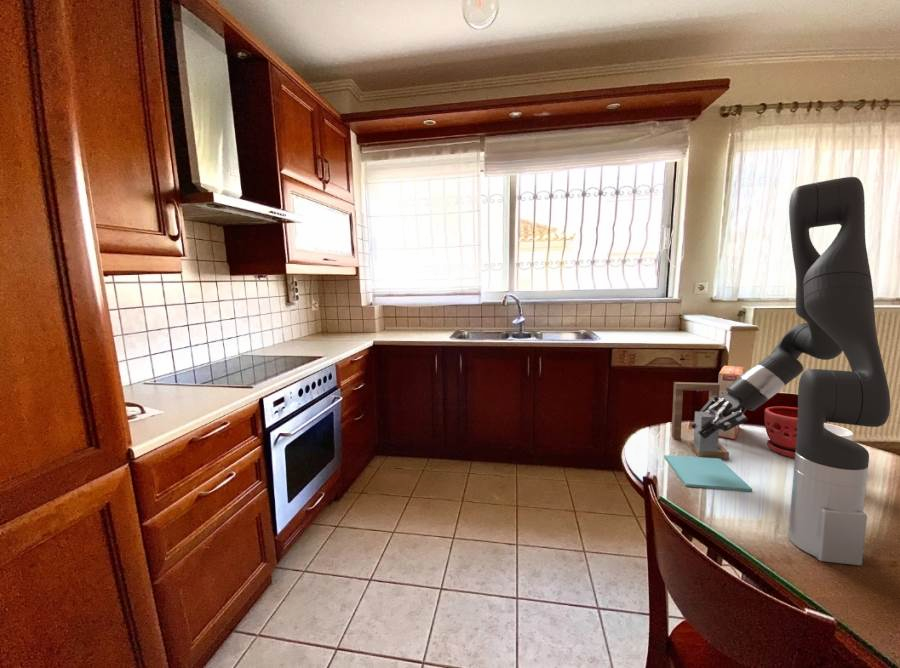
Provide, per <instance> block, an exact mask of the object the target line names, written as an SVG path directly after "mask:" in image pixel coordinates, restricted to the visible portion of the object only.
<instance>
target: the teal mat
mask: <svg viewBox="0 0 900 668" xmlns="http://www.w3.org/2000/svg"><path fill="white" fill-rule="evenodd" d="M663 458H664V459H665V460H666V461H667V463H668V464H669V466H670V467H671V469H672V470H673V471H674V473H675V475H677V476H678V478H679V479H680V480H681V482H682V483H683V485H684V486H685V487H694V488H704V489H705V488H707V489H719V490H730V491H731V490H732V491H733V490H734V491H743V492H744V491H745V492H753V488H752V487H751V486H750V485H749V484H748V483H747V482H746V481H744V480H743V479H742V478H741V476H739V475H738V474H737V472H735V471H734V470H733V469H732V468H731V467H729V465H728V464H726V463H725V462H724V461H723V459H719V458H703V457H698V456H685V455H684V456H682V455H672V454H671V455H670V454H669V455H668V454H664V456H663Z"/></svg>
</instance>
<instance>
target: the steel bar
mask: <svg viewBox="0 0 900 668" xmlns="http://www.w3.org/2000/svg"><path fill="white" fill-rule="evenodd" d="M715 417H716V415H715V414H714V413H712V412H700V411H694V422H695V425H694V428H693V440H694V443H693V444H694V445H695V446H696V447H697V448H698V449H699V450H700V451H713V452H718V443H719V437H720V436H719V430H716V431H715V432H714V433H712V434H711V435H710V436H708V437H707V438H703V437H702V436H701V435H700V434H699V433H698V431H699V430H700V429H702V428H703V427H704V426H706V425H707V424H708V423H711V421H712V420H713V419H714V418H715Z"/></svg>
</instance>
